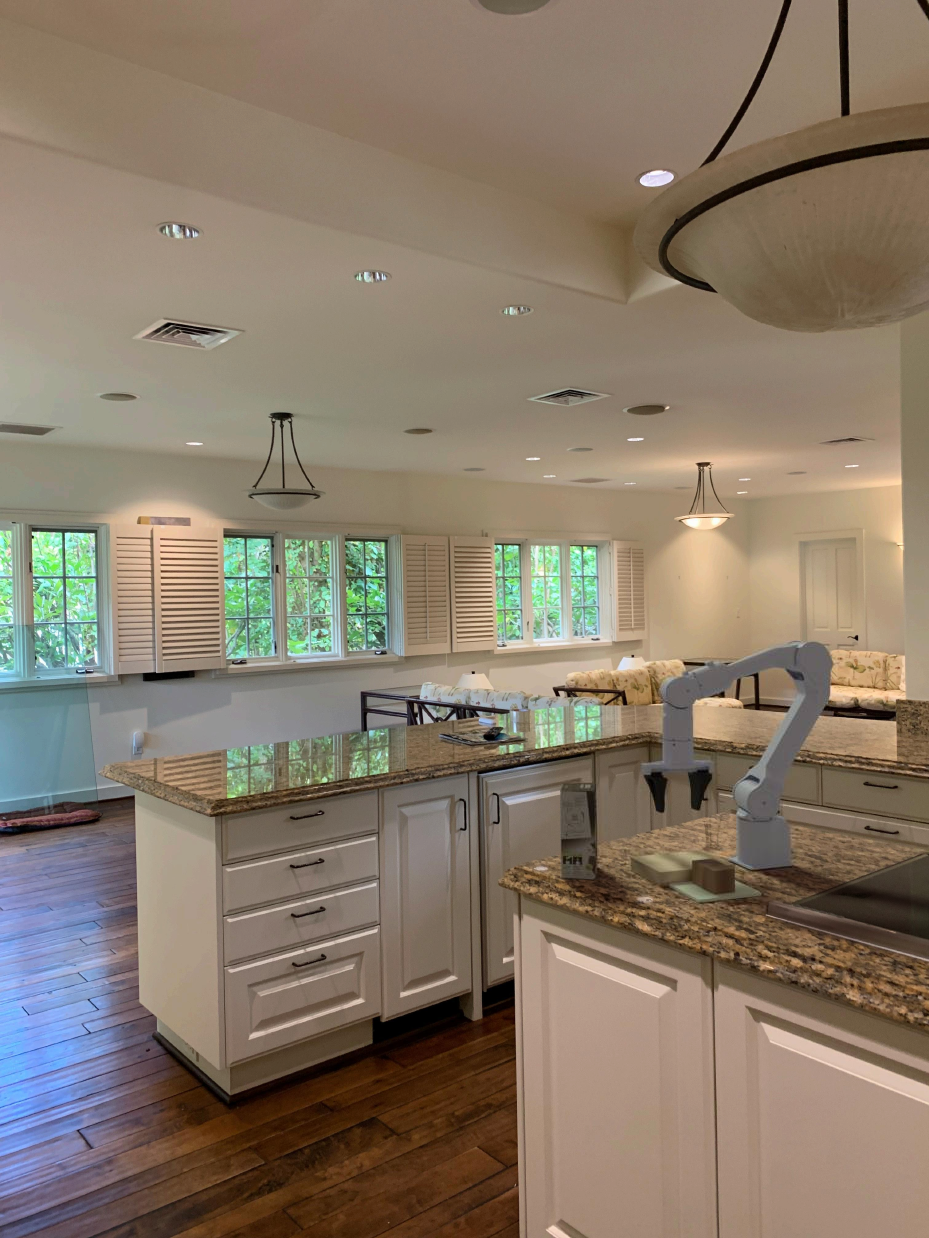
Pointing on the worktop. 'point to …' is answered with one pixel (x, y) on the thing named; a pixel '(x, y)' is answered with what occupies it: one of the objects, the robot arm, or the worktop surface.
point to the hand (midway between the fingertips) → (677, 810)
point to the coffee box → (578, 831)
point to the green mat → (705, 896)
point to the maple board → (670, 866)
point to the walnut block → (713, 876)
